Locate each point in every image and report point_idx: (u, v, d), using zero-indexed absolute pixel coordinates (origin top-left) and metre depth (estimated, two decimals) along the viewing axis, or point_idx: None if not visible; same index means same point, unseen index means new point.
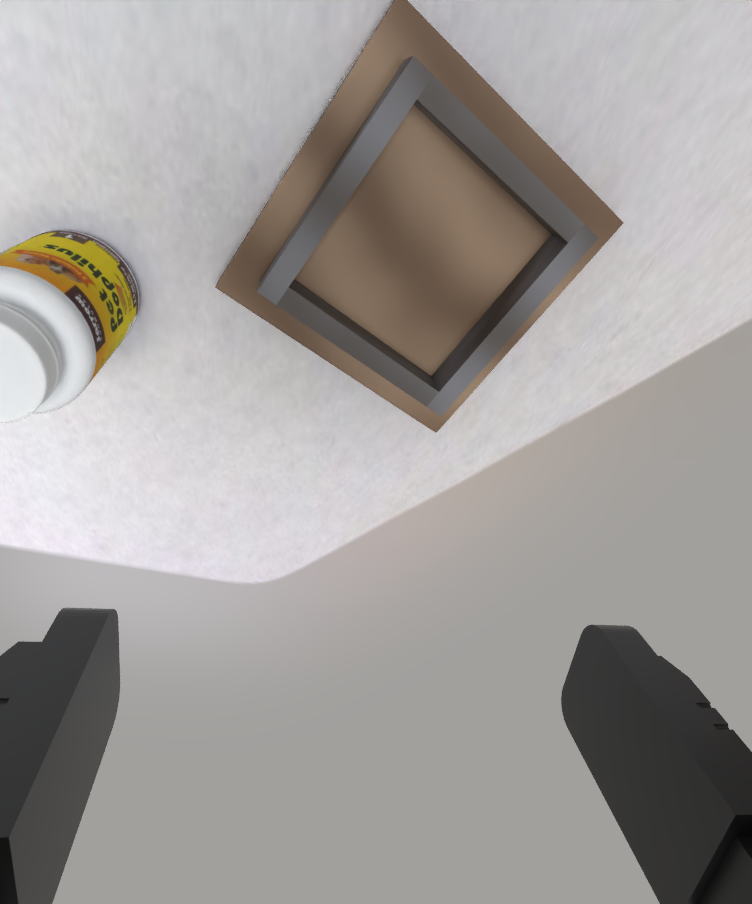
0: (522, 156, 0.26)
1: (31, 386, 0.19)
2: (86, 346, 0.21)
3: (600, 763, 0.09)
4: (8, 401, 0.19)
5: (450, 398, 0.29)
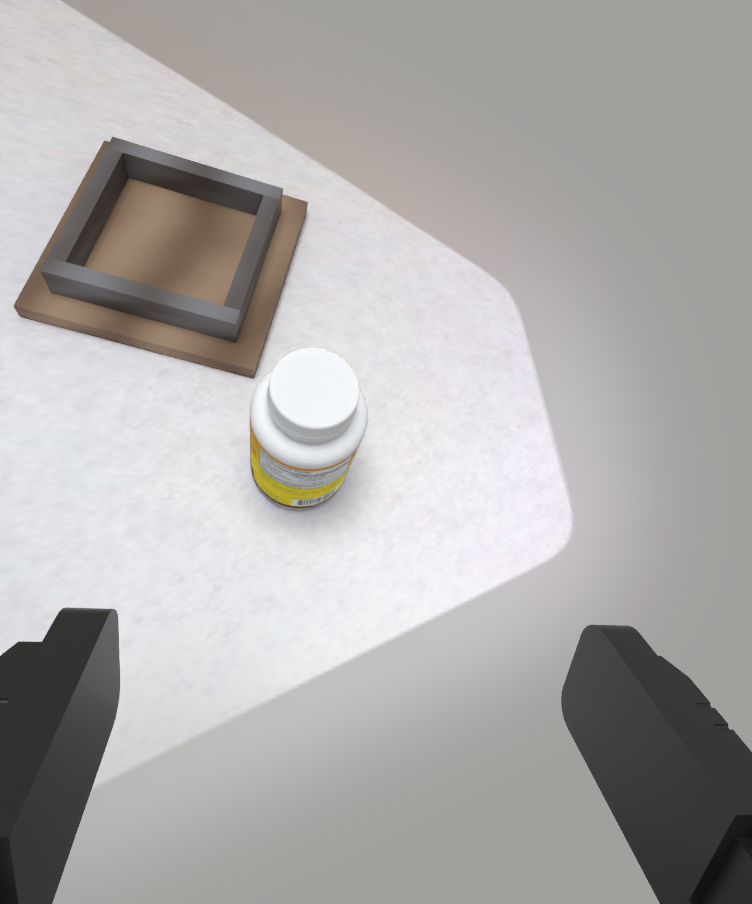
0: None
1: (313, 355, 0.25)
2: None
3: (600, 763, 0.09)
4: (333, 368, 0.25)
5: (265, 186, 0.38)
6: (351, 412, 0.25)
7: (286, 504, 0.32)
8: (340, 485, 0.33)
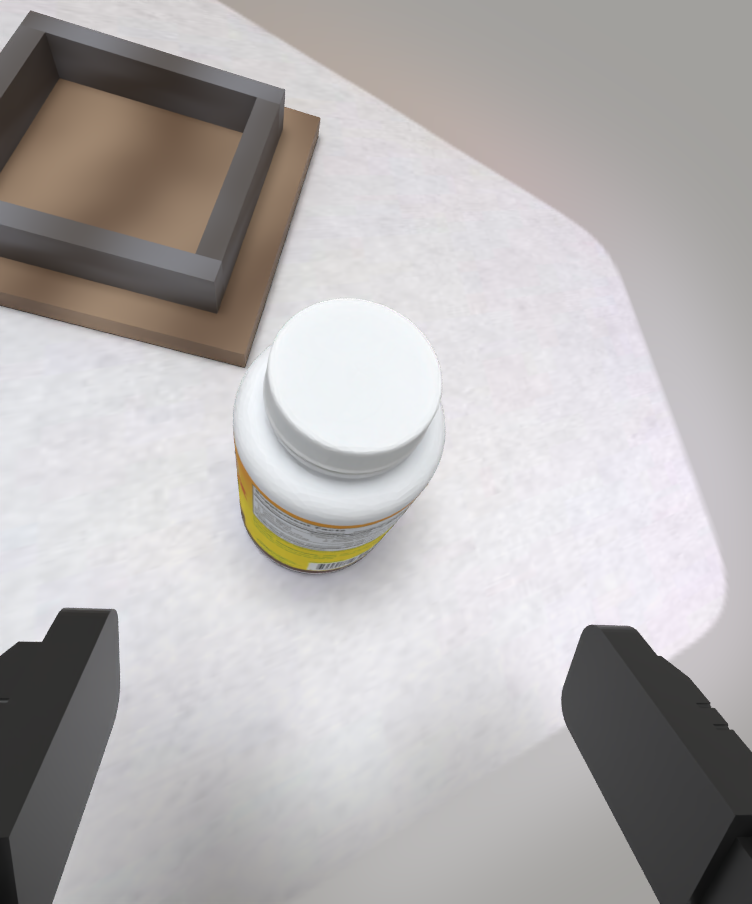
0: None
1: (353, 311, 0.13)
2: None
3: (600, 763, 0.09)
4: (390, 337, 0.13)
5: (259, 86, 0.25)
6: (429, 420, 0.13)
7: (298, 568, 0.20)
8: None
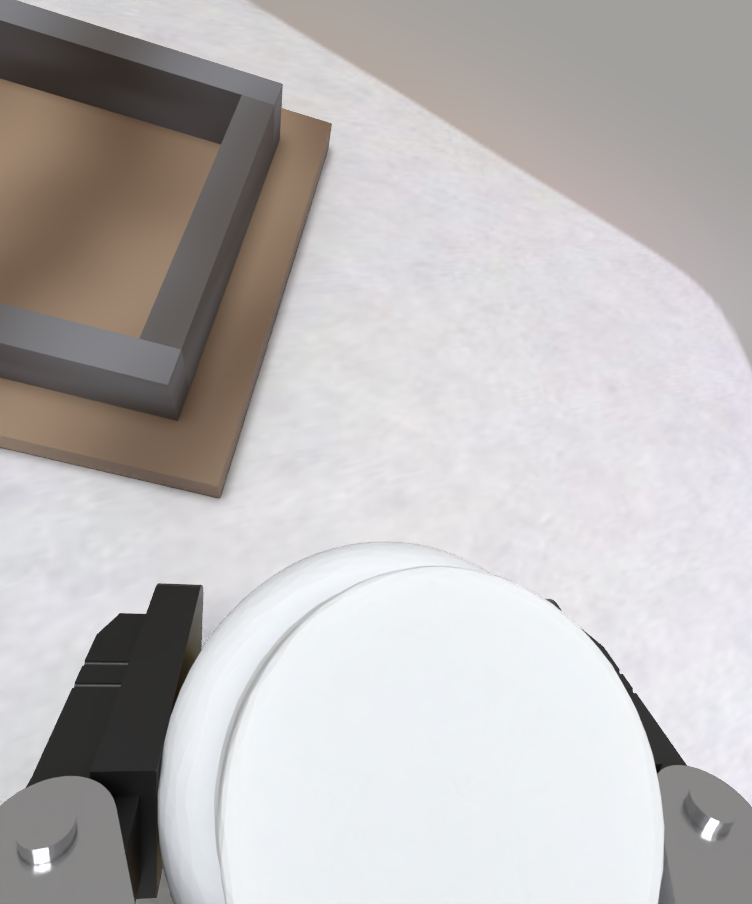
0: None
1: (436, 609, 0.05)
2: (307, 560, 0.08)
3: None
4: (528, 674, 0.05)
5: (246, 78, 0.18)
6: None
7: None
8: None
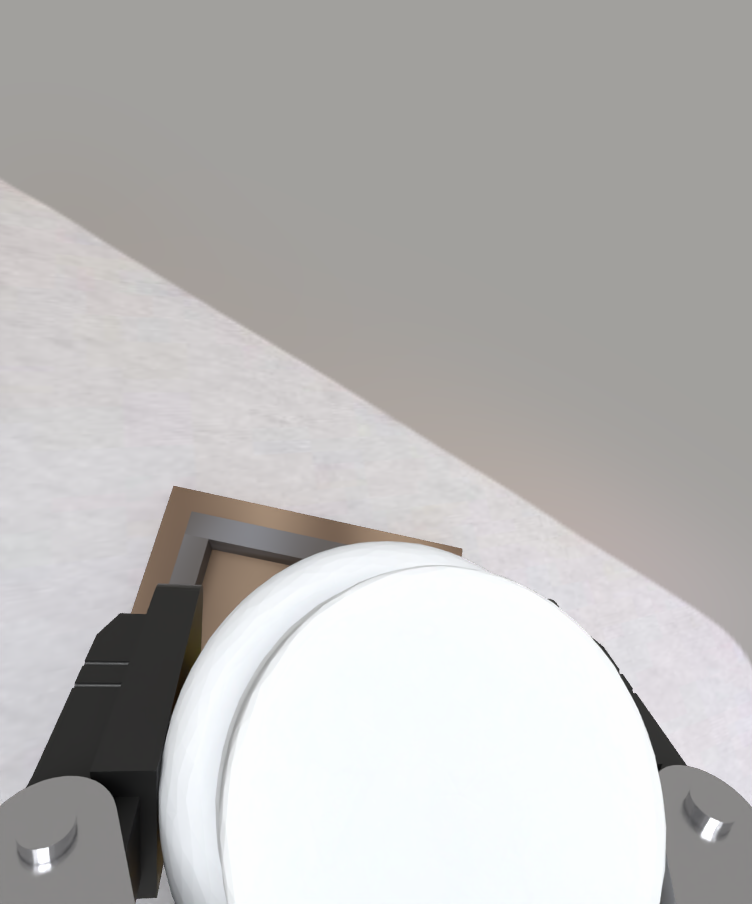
0: None
1: (437, 608, 0.05)
2: (308, 560, 0.08)
3: None
4: (530, 673, 0.05)
5: None
6: None
7: None
8: None
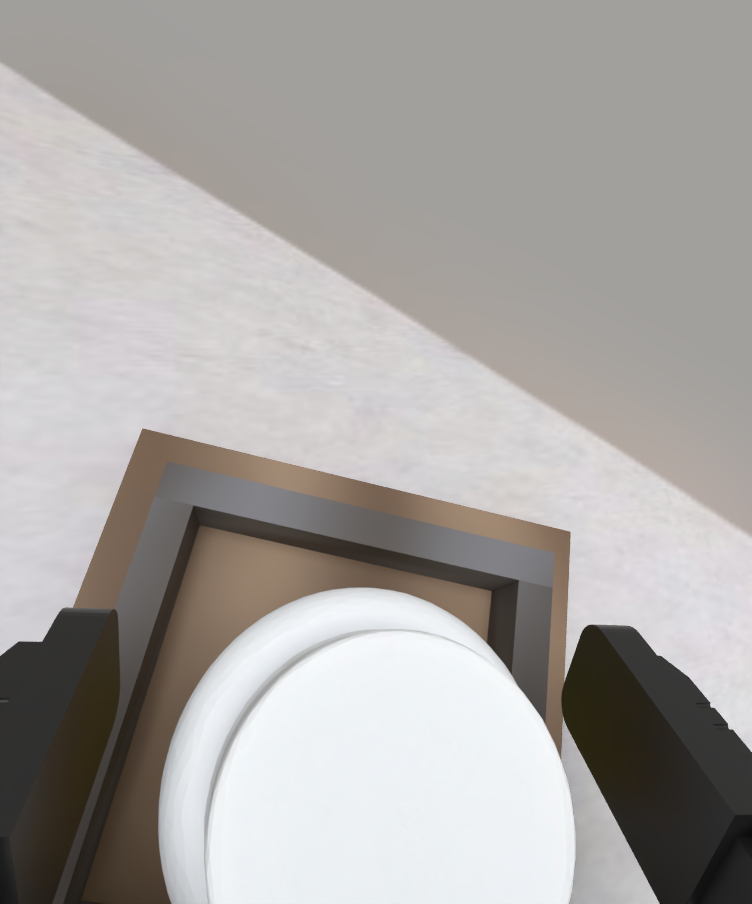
0: None
1: (392, 668, 0.06)
2: (292, 605, 0.09)
3: (600, 763, 0.09)
4: (468, 725, 0.06)
5: (518, 554, 0.16)
6: None
7: None
8: None
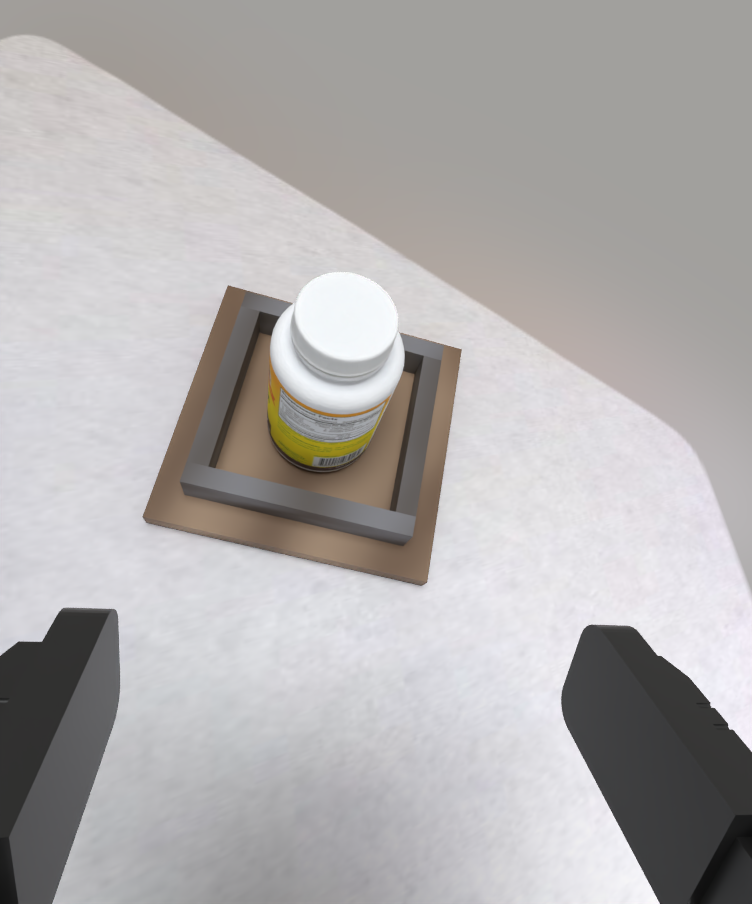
0: (213, 379, 0.30)
1: (346, 279, 0.22)
2: None
3: (600, 763, 0.09)
4: (368, 296, 0.22)
5: (424, 344, 0.31)
6: (388, 345, 0.21)
7: (306, 464, 0.28)
8: (366, 446, 0.29)
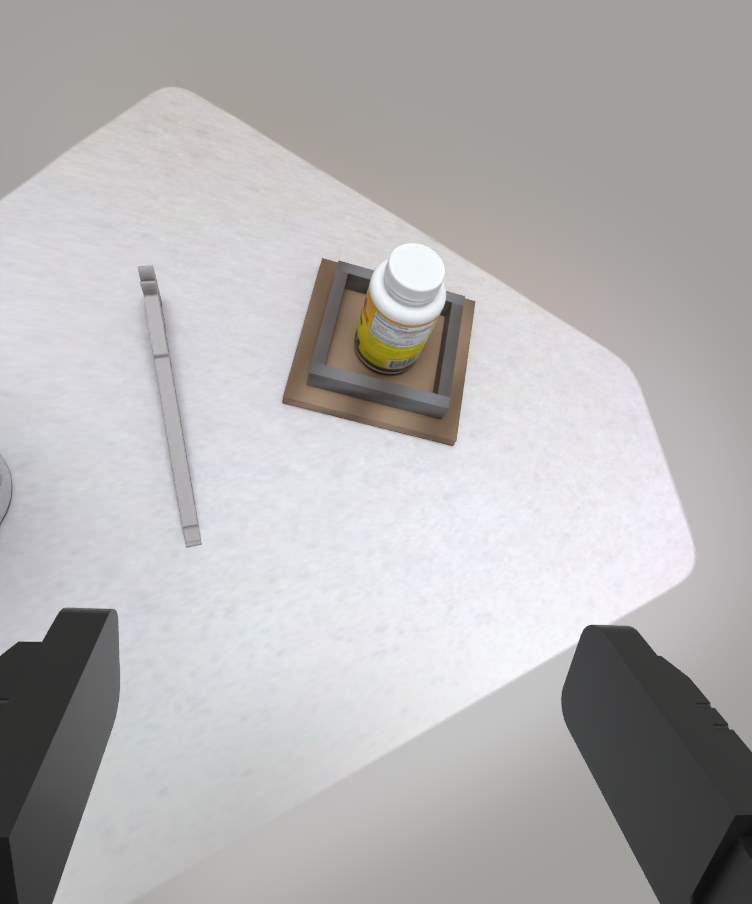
0: (318, 317, 0.48)
1: (415, 247, 0.39)
2: None
3: (600, 763, 0.09)
4: (428, 256, 0.39)
5: (452, 295, 0.49)
6: (440, 283, 0.38)
7: (380, 367, 0.45)
8: (417, 357, 0.46)
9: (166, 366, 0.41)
